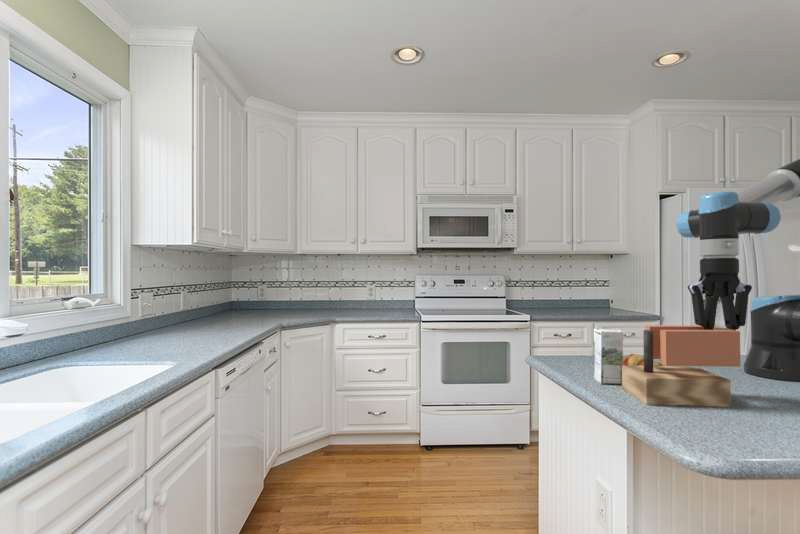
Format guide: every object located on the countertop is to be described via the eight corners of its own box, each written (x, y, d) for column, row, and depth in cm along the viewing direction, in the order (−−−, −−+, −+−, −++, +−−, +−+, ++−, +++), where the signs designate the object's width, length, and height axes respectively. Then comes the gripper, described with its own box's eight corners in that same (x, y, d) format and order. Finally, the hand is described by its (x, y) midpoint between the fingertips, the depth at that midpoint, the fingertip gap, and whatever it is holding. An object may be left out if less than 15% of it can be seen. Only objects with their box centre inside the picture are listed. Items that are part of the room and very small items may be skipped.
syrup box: (614, 379, 119) (614, 327, 119) (623, 385, 113) (623, 330, 113) (593, 378, 120) (593, 327, 120) (601, 384, 114) (600, 330, 114)
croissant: (685, 397, 114) (690, 369, 116) (672, 385, 109) (678, 356, 111) (606, 379, 131) (612, 355, 133) (592, 368, 126) (598, 343, 128)
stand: (695, 390, 108) (695, 327, 108) (730, 406, 95) (730, 335, 95) (621, 388, 110) (621, 326, 110) (646, 404, 97) (646, 334, 97)
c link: (712, 357, 107) (712, 325, 107) (740, 366, 97) (739, 331, 97) (645, 356, 108) (645, 325, 108) (666, 365, 98) (665, 331, 98)
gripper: (693, 257, 99) (694, 358, 99) (765, 256, 97) (767, 359, 97) (675, 258, 106) (677, 352, 106) (742, 257, 105) (743, 352, 105)
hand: (720, 355), depth 102 cm, fingers closed on c link, 2 cm apart
